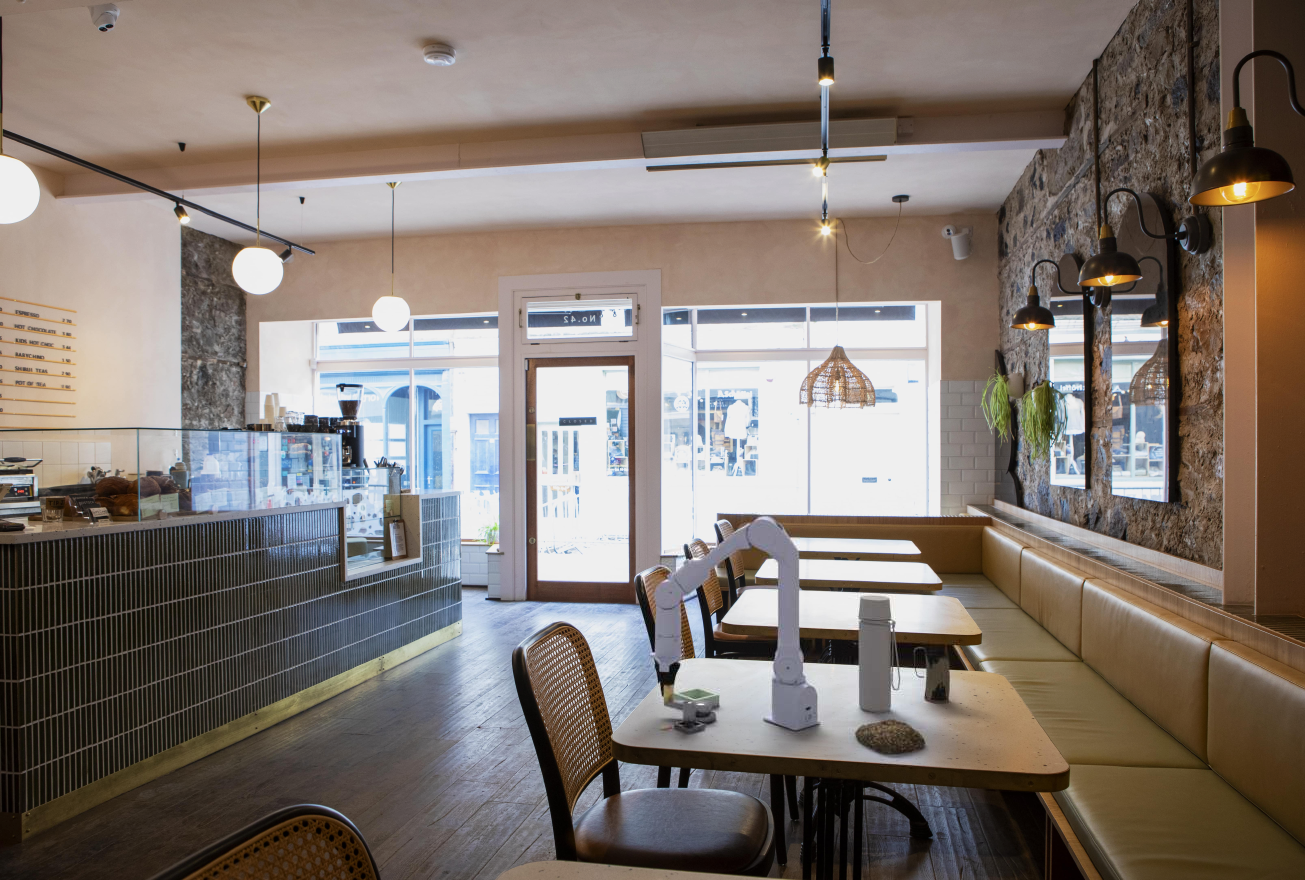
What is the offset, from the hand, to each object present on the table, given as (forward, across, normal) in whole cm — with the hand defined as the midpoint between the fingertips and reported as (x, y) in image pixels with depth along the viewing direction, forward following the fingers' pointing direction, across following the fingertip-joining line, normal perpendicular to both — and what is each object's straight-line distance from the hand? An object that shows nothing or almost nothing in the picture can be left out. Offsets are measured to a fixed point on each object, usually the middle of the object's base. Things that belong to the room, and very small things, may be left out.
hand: (667, 695), depth 187 cm
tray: (+4, -7, +6) cm, 10 cm away
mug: (+3, -18, +60) cm, 63 cm away
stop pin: (+4, +10, +6) cm, 12 cm away
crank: (+2, +2, +5) cm, 6 cm away
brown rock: (+3, +13, +46) cm, 48 cm away
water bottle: (+3, -9, +47) cm, 48 cm away
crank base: (+4, +6, +6) cm, 9 cm away
